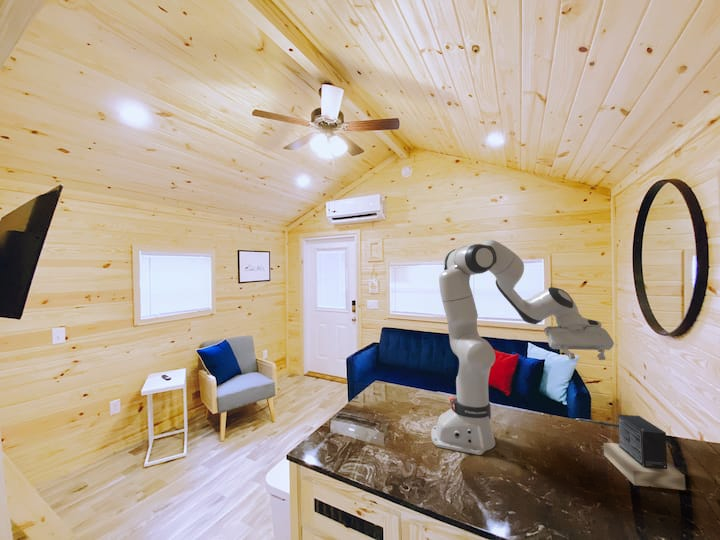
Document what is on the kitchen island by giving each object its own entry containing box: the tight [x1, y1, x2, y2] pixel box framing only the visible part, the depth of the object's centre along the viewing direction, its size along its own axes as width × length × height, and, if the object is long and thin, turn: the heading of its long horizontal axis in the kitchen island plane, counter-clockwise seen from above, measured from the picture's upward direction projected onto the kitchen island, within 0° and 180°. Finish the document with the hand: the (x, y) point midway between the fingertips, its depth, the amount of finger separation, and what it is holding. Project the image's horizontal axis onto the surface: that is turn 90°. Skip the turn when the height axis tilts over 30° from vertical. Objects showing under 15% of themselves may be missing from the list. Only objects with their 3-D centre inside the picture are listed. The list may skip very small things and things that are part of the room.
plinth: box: [603, 442, 686, 491], centre depth 88 cm, size 12×14×4 cm
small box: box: [617, 413, 668, 469], centre depth 88 cm, size 11×6×10 cm, turn 169°
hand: (587, 359), depth 104 cm, fingers open, 8 cm apart
